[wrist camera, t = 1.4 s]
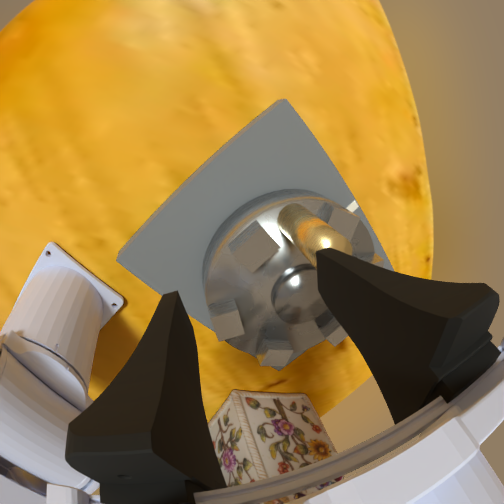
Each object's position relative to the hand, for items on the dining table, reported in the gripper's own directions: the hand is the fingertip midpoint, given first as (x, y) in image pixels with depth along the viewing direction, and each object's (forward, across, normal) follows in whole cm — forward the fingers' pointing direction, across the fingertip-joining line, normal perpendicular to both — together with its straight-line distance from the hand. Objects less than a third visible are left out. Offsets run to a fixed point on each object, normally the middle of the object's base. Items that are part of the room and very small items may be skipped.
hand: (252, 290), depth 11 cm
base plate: (+10, -4, +6) cm, 12 cm away
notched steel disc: (+9, -4, +6) cm, 11 cm away
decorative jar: (+10, +2, +29) cm, 31 cm away
